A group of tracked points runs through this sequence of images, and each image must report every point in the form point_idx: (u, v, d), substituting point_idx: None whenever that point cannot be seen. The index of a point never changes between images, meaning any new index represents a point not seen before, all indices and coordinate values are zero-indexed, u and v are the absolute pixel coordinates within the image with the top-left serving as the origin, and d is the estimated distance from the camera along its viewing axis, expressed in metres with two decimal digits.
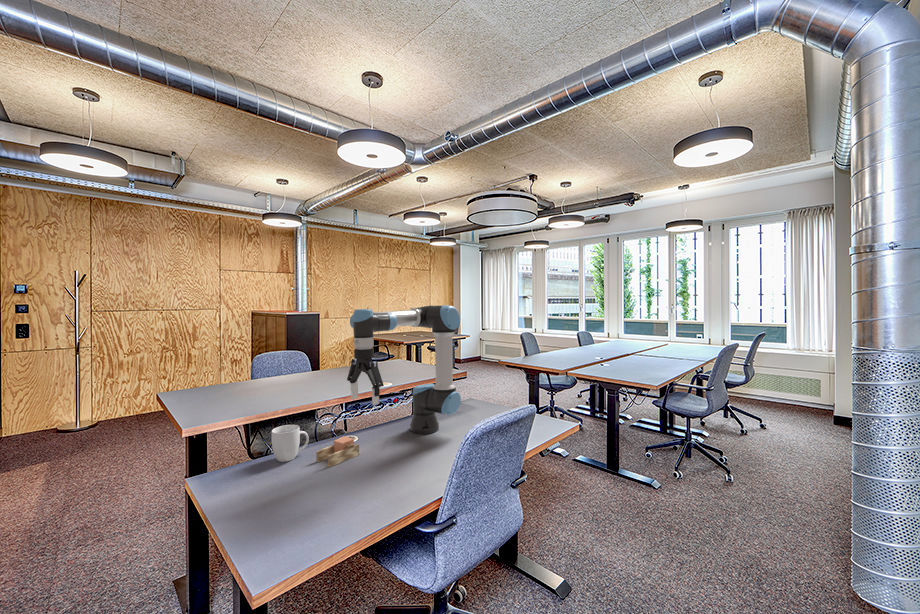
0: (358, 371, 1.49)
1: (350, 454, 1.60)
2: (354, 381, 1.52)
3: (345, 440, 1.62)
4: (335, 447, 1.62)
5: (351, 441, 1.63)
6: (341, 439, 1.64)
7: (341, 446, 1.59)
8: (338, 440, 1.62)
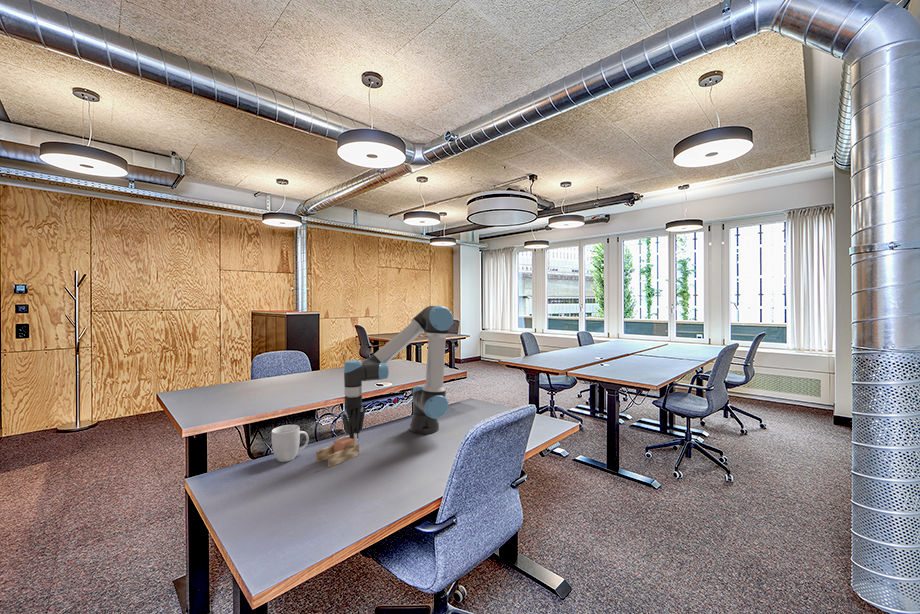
0: None
1: (350, 454, 1.60)
2: (355, 430, 1.68)
3: (345, 440, 1.62)
4: (335, 447, 1.62)
5: (351, 441, 1.63)
6: (341, 439, 1.64)
7: (341, 446, 1.59)
8: (338, 440, 1.62)
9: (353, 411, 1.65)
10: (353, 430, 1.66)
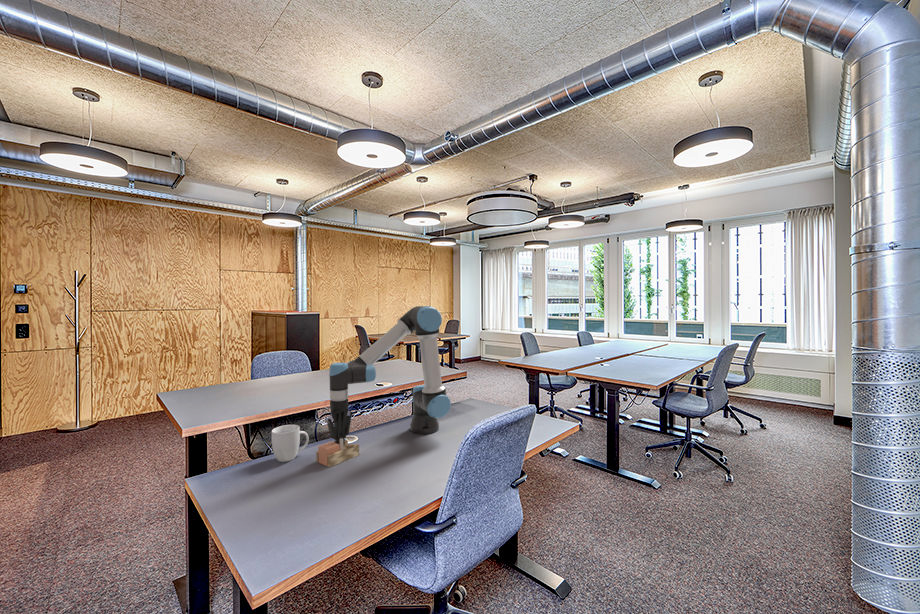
0: None
1: (350, 454, 1.60)
2: (341, 435, 1.62)
3: (330, 446, 1.56)
4: (320, 453, 1.56)
5: (336, 447, 1.57)
6: (326, 444, 1.58)
7: (326, 452, 1.53)
8: (323, 446, 1.56)
9: (339, 415, 1.59)
10: (339, 435, 1.60)
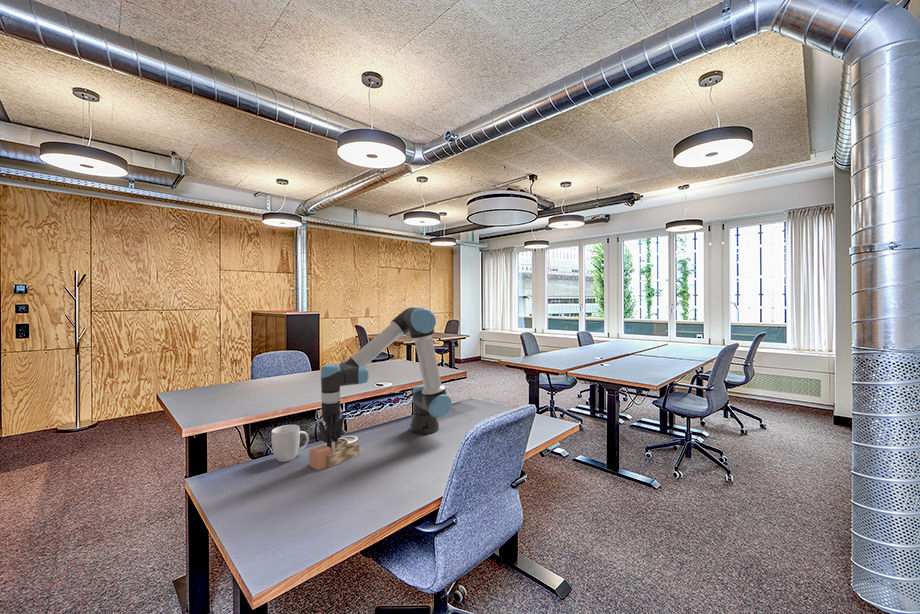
0: (332, 424, 1.59)
1: (350, 454, 1.60)
2: (333, 438, 1.58)
3: (321, 449, 1.52)
4: (311, 456, 1.52)
5: (328, 450, 1.53)
6: (317, 447, 1.55)
7: (317, 455, 1.50)
8: (314, 449, 1.53)
9: (330, 418, 1.56)
10: (331, 438, 1.56)
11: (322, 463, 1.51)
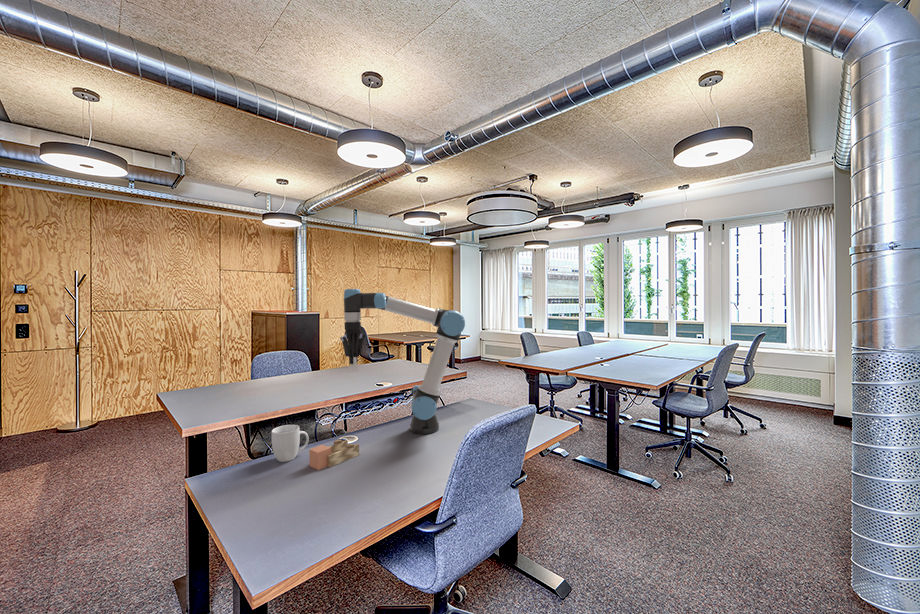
0: None
1: (350, 454, 1.60)
2: (354, 354, 1.79)
3: (321, 449, 1.52)
4: (311, 456, 1.52)
5: (328, 450, 1.53)
6: (317, 447, 1.55)
7: (317, 455, 1.50)
8: (314, 449, 1.53)
9: (352, 335, 1.76)
10: (353, 353, 1.76)
11: (322, 463, 1.51)
